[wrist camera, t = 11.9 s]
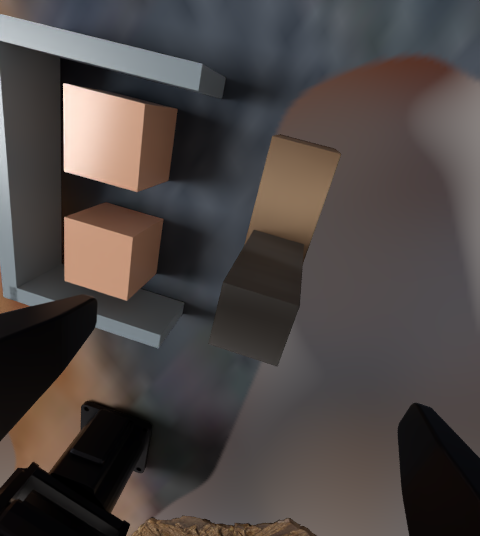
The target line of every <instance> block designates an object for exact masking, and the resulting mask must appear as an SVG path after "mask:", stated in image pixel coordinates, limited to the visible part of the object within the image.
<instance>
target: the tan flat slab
mask: <svg viewBox="0 0 480 536" xmlns="http://www.w3.org/2000/svg"><path fill="white" fill-rule="evenodd" d="M132 536H316V535H315V534H313V533H312V532H311V531H310V530H309V529H308V528H306V527H304V526H300V524H297V523H296V522H294V521H293V520H292V519H291V518H286V519H285V520H278V521H277V522H274V523H262V524H257V525H250V524H248V523H247V524H240V523H235V525H234V526H232V525H225V524H214V523H211V522H210V520H207V519H200V518H196V517H190V516H182V517H181V518H175V519H172V520H157V519H155V518H150V519H148V520H146V521H145V523H144V524H142V525H141V526H140V527H139V528H138V530H137V531H135V532H134V533H133V535H132Z"/></svg>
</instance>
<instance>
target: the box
mask: <svg viewBox="0 0 480 536" xmlns="http://www.w3.org/2000/svg"><path fill="white" fill-rule="evenodd" d="M60 58H63V59H67V60H71V61H75V62H79V63H83V64H87V65H91V66H95V67H99V68H103V69H107V70H110V71H114V72H118V73H122V74H126V75H130V76H134V77H138V78H142V79H146V80H150V81H154V82H158V83H161V84H165V85H169V86H173V87H177V88H181V89H185V90H189V91H193V92H197V93H201V94H205V95H208V96H212V97H216V98H220V99H222V97H223V91H224V86H225V80H226V78H225V77H224V76H222V75H220V74H219V73H217V72H215V71H214V70H212V69H210V68H209V67H207V66H205V65H204V64H201V63H197V62H193V61H189V60H185V59H181V58H177V57H173V56H169V55H164V54H160V53H156V52H152V51H148V50H144V49H140V48H136V47H132V46H128V45H124V44H120V43H116V42H112V41H108V40H104V39H100V38H95V37H91V36H87V35H83V34H79V33H75V32H71V31H67V30H63V29H59V28H55V27H51V26H47V25H43V24H39V23H35V22H31V21H26V20H22V19H18V18H14V17H10V16H6V15H2V14H0V266H1V276H2V286H3V296H4V297H5V298H8V299H11V300H15V301H18V302H21V303H24V304H27V305H30V306H35V305H39V304H43V303H47V302H51V301H55V300H60V299H64V298H68V297H72V296H76V295H80V294H85V295H88V296H91V297H94V298H96V299H97V302H98V306H97V323H96V326H95V327H96V328H99V329H102V330H105V331H108V332H111V333H114V334H117V335H120V336H123V337H126V338H129V339H132V340H135V341H138V342H141V343H144V344H147V345H150V346H153V347H156V348H159V347H160V346H161V344H162V343H163V341H164V340H165V338H166V337H167V336H168V334H169V333H170V331H171V330H172V328H173V327H174V326H175V324H176V323H177V321H178V320H179V318H180V317H181V316H182V314H183V308H184V302H181V301H178V300H174V299H171V298H168V297H165V296H162V295H159V294H156V293H152V292H149V291H146V290H143V289H139V290H138V291H137V292H136V293H135V294H134V295H133V296H132V297H131V298H130V299H128V300H127V301H126V300H123V299H120V298H117V297H113V296H110V295H107V294H104V293H101V292H98V291H95V290H92V289H88V288H85V287H82V286H79V285H76V284H73V283H70V282H67V281H65V276H64V264H62V234H61V102H60Z"/></svg>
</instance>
